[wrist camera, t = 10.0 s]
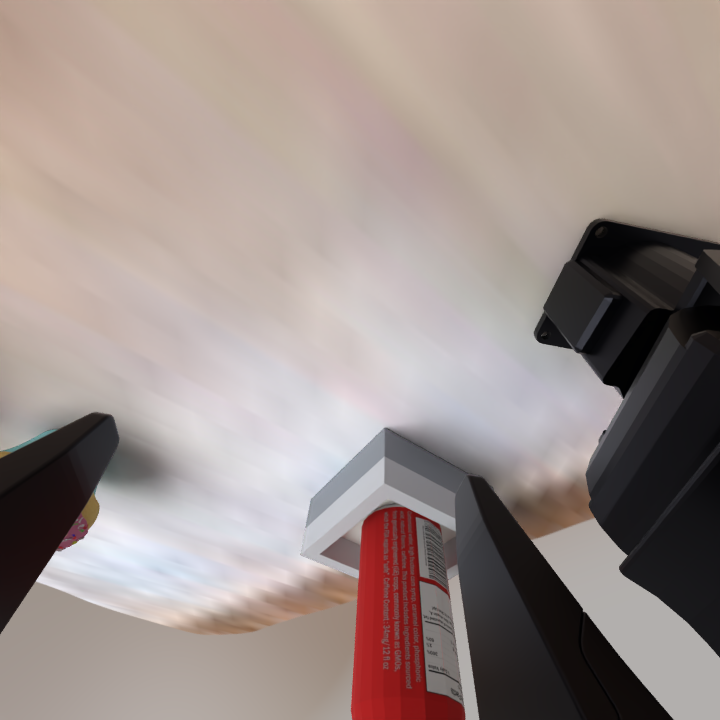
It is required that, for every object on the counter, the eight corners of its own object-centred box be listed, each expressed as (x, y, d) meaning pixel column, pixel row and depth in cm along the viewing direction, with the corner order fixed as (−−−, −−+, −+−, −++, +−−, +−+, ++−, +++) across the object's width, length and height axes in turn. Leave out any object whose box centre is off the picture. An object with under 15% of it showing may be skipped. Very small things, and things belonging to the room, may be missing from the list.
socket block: (384, 427, 25) (384, 483, 22) (493, 487, 28) (509, 545, 24) (310, 499, 30) (300, 554, 26) (409, 544, 33) (411, 600, 29)
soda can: (349, 530, 28) (329, 767, 18) (384, 490, 25) (384, 746, 15) (414, 552, 29) (429, 786, 19) (455, 516, 26) (498, 770, 16)
